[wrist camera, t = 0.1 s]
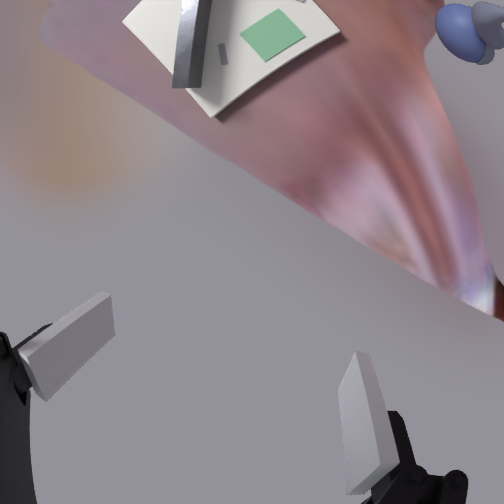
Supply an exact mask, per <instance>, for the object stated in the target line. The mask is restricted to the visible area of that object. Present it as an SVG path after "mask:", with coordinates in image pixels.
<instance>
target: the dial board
mask: <svg viewBox="0 0 504 504" xmlns="http://www.w3.org/2000/svg"><path fill="white" fill-rule="evenodd" d="M182 2H183V0H142V1H141V2H140V3H139V4H138V5H137V6H136V7H135V8H134V9H133V10H132V11H131V13H130V14H129V15H128V16H127V17H126V18H125V19H124V20H123V21H122V22H123V23H124V24H125V25H126V26H127V27H128V28H129V29H130V30H131V31H132V32H133V33H134V34H135V35H136V36H137V37H138V38H139V39H140V40H141V41H142V42H143V43H144V44H145V45H146V46H147V47H148V49H149V50H150V51H151V52H152V53H153V54H154V55H155V56H156V57H157V58H158V59H159V60H160V61H161V62H162V63H163V64H164V66H165V67H166V68H167V69H168V70H169V71H170V72H171V73H172V74H173V72H174V61H175V52H176V43H177V35H178V28H179V21H180V14H181V8H182ZM339 32H340V30H339V29H338V28H337V27H336V25H335V24H334V23H333V22H332V21H331V20H330V19H329V18H328V17H327V15H326V14H325V13H324V12H323V11H322V10H321V9H320V8H319V7H318V6H317V5H316V4H315V3H314V2H313V1H312V0H212V5H211V11H210V18H209V25H208V32H207V39H206V47H205V55H204V64H203V73H202V83H201V88H185V89H186V90H187V91H188V92H189V93H190V94H191V96H192V97H193V98H194V99H195V100H196V101H197V102H198V104H199V105H200V106H201V107H202V108H203V109H204V111H205V112H206V113H207V114H208V115H209V116H210V118H212V117H215V116H216V115H217V114H218V113H219V112H221V111H222V110H223V109H224V108H226V107H227V106H228V105H229V104H231V103H232V102H233V101H235V100H236V99H237V98H238V97H240V96H241V95H242V94H244V93H245V92H246V91H248V90H249V89H250V88H252V87H253V86H255V85H256V84H257V83H259V82H260V81H262V80H263V79H264V78H266V77H267V76H269V75H270V74H272V73H273V72H275V71H276V70H278V69H279V68H281V67H282V66H284V65H285V64H287V63H288V62H290V61H291V60H293V59H295V58H296V57H298V56H299V55H301V54H303V53H304V52H306V51H308V50H309V49H311V48H313V47H315V46H316V45H318V44H320V43H322V42H323V41H325V40H327V39H329V38H331V37H333V36H334V35H336V34H338V33H339Z"/></svg>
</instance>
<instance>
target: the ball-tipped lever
mask: <svg viewBox="0 0 504 504" xmlns="http://www.w3.org/2000/svg"><path fill="white" fill-rule="evenodd" d="M211 5H212V0H183V2H182V8H181V14H180V21H179V28H178V35H177V43H176V52H175V61H174V72H173V84H172V88H201V83H202V73H203V64H204V55H205V47H206V39H207V32H208V25H209V18H210V11H211Z"/></svg>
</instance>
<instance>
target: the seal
mask: <svg viewBox="0 0 504 504" xmlns="http://www.w3.org/2000/svg"><path fill="white" fill-rule="evenodd" d="M502 22H504V7H500V6H497V5H493V4H490V3H487V2H477V3H475V4H474V6H473V7H470V6H465V5H461V4H448V5H445V6H443V7H442V8H441V9H440V10H439V11H438V13H437V15H436V18H435V27H436V31H437V34H438V36H439V38H440V40H441V42H442V43H443V44H444V46H445V47H446V48H447V49H448V50H449V51H450V52H451V53H452V54H454V55H455V56H457V57H458V58H460V59H463V60H465V61H468V62H473V63H477V64H478V65H483V64H488V63H490V62H491V61H492V60H493V58H494V54H495V53H494V49H502V48H504V29H503V28H502V26H501V24H502Z"/></svg>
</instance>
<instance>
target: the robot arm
mask: <svg viewBox="0 0 504 504" xmlns="http://www.w3.org/2000/svg"><path fill="white" fill-rule="evenodd" d="M114 336H115V331H114V323H113V313H112V301H111V295H110V294H107V293H104V292H99V293H98V294H96V295H95V296H93V297H92V298H90V299H89V300H87V301H86V302H84V303H83V304H81V305H80V306H78V307H77V308H75V309H74V310H72V311H71V312H69V313H68V314H66V315H65V316H64V317H62V318H61V319H59V320H58V321H56V322H55V323H54V324H53V323H51V324H48V325H45V326H43V327H42V328H40V329H39V330H37V332H34V333H33V334H32V335H31V336H29V337H27V338H26V339H25V340H23V341H22V342H20V343H19V344H18V345H17V346H15V347H14V348H11V345H10V342H9V339H8V336H7V335H6V334H5V333H4V332H0V504H37V501H36V496H35V490H34V483H33V476H32V467H31V455H30V431H29V430H30V429H29V426H30V397H31V394H30V390H29V388H30V387H32V386H33V388H34V391H35V393H36V394H37V395H38V396H39V397H40V398H42V399H43V400H44V401H46V402H47V401H48V400H49V399H50V398H51V397H52V396H53V395H54V394H55V393H56V392H57V391H58V390H59V389H60V388H61V387H62V386H63V385H64V384H65V383H66V382H67V381H68V380H69V379H70V378H71V377H72V376H73V375H74V374H75V373H76V372H77V371H78V370H79V369H80V368H81V367H82V366H83V365H84V364H85V363H86V362H87V361H88V360H89V359H91V358H92V357H93V356H94V355H95V354H96V353H97V352H98V351H99V350H100V349H101V348H102V347H103V346H104V345H105V344H106V343H107V342H108V341H109V340H110V339H112V338H113V337H114ZM338 398H339V406H340V415H341V424H342V434H343V446H344V458H345V474H346V495H356V494H357V495H358V494H365V493H366V492H367V491H368V490H370V489H371V494H372V496H370V497H369V498H368V499H366V500H365V501H364V502H362V503H361V504H465V503H466V497H467V490H468V478H467V476H466V474H465V473H463V472H462V471H459V470H453V471H450V472H449V473H448V474H446V475H445V476H436V475H429V474H427V472H426V470H425V469H424V468H423V467H421V466H419V465H417V464H416V462H415V458H414V455H413V451H412V447H411V444H410V440H409V437H408V434H407V430H406V427H405V423H404V420H403V418H402V417H401V416H400V415H399V413H398V412H397V411H387V410H386V406H385V402H384V399H383V396H382V392H381V389H380V386H379V383H378V380H377V376H376V373H375V370H374V367H373V364H372V361H371V358H370V355H369V353H365V352H357V351H355V353H354V355H353V358H352V360H351V362H350V364H349V367H348V369H347V371H346V373H345V376H344V378H343V380H342V382H341V384H340V386H339V388H338Z"/></svg>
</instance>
